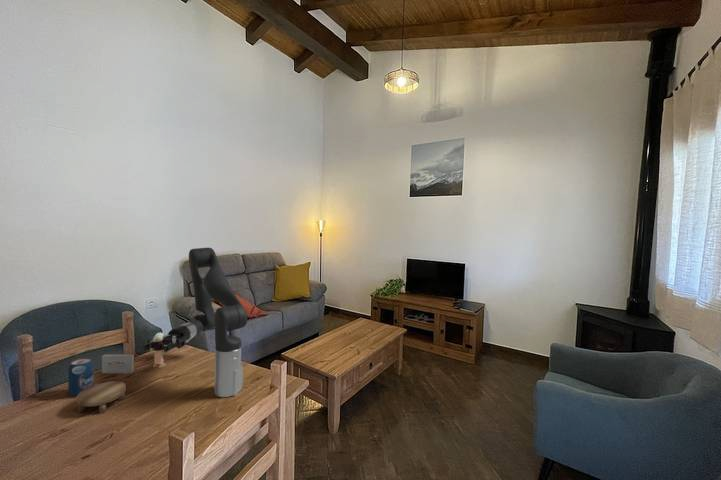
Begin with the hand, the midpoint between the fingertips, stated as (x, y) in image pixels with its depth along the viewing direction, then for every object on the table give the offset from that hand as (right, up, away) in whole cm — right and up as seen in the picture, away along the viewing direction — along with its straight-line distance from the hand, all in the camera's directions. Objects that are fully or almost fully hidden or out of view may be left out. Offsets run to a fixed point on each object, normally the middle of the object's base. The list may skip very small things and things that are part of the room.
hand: (154, 348), depth 114 cm
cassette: (-26, -16, +15) cm, 34 cm away
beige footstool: (-13, -17, -8) cm, 23 cm away
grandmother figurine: (0, -7, +2) cm, 8 cm away
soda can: (-27, -16, -1) cm, 31 cm away
